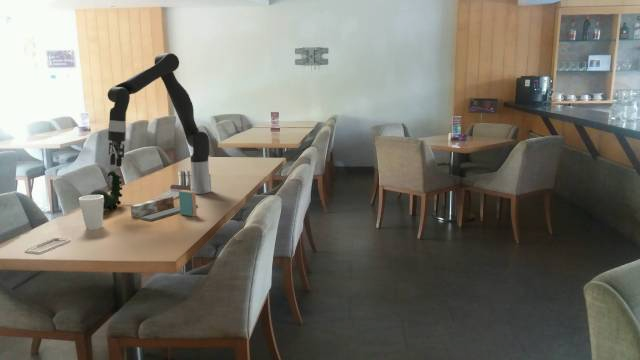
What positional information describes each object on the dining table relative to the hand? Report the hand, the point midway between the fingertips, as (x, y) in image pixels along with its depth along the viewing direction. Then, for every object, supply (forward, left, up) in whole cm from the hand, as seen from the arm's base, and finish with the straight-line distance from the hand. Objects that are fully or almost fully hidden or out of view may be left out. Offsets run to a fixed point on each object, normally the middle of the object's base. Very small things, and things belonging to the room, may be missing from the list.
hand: (115, 165), depth 239 cm
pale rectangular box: (-6, +17, -21) cm, 28 cm away
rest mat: (-8, +26, -21) cm, 35 cm away
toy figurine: (+4, -4, -22) cm, 22 cm away
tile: (-10, +36, -21) cm, 43 cm away
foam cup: (+24, +16, -22) cm, 36 cm away
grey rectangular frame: (+48, +23, -22) cm, 58 cm away
